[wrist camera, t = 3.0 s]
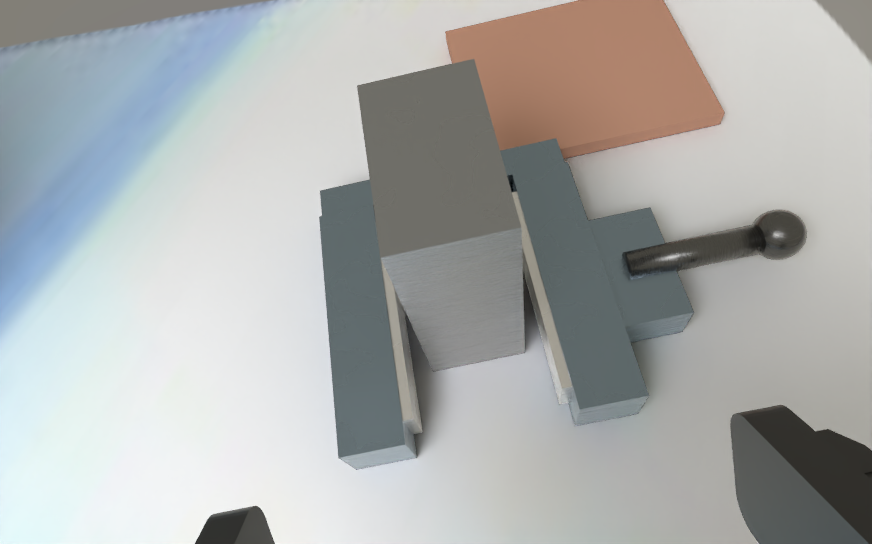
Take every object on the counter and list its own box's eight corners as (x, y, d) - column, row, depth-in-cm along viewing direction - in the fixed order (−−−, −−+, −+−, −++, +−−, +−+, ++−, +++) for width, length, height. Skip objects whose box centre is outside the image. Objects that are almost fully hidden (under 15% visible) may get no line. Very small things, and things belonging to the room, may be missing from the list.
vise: (356, 469, 24) (334, 455, 21) (332, 214, 30) (313, 177, 27) (846, 371, 23) (887, 344, 20) (717, 128, 29) (736, 83, 26)
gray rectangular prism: (432, 371, 25) (380, 257, 16) (410, 239, 28) (357, 85, 20) (525, 352, 25) (521, 227, 16) (492, 221, 28) (474, 58, 20)
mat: (480, 177, 30) (479, 167, 29) (446, 42, 34) (445, 31, 34) (720, 124, 29) (724, 112, 28) (651, -5, 34) (654, -18, 33)
